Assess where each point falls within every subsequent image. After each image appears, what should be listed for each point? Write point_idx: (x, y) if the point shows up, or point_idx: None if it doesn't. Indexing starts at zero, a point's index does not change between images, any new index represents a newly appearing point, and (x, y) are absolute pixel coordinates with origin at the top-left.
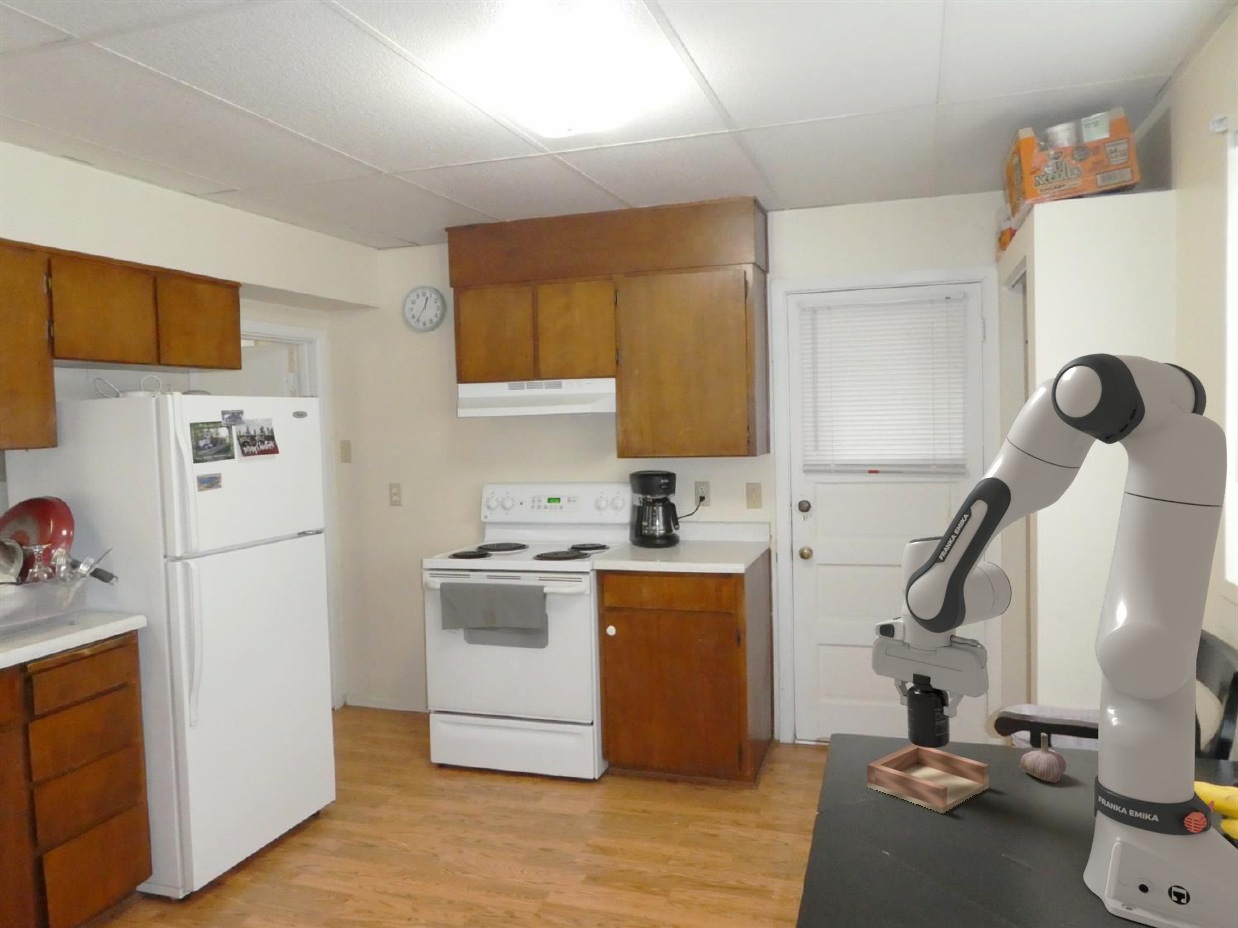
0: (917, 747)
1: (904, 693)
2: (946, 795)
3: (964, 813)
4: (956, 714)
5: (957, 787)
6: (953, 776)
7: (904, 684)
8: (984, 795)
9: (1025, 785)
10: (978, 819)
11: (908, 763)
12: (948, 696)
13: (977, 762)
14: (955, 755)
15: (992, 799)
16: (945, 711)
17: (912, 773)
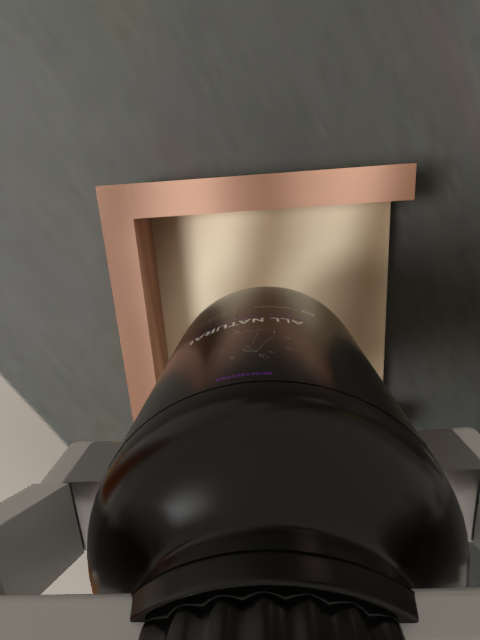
0: (132, 220)
1: (66, 543)
2: None
3: (413, 380)
4: (474, 432)
5: (342, 289)
6: (288, 221)
7: (2, 590)
8: (401, 235)
9: (468, 41)
10: (456, 384)
11: (154, 278)
12: (456, 497)
13: (373, 175)
14: (276, 177)
15: (431, 242)
16: None
17: (192, 301)
